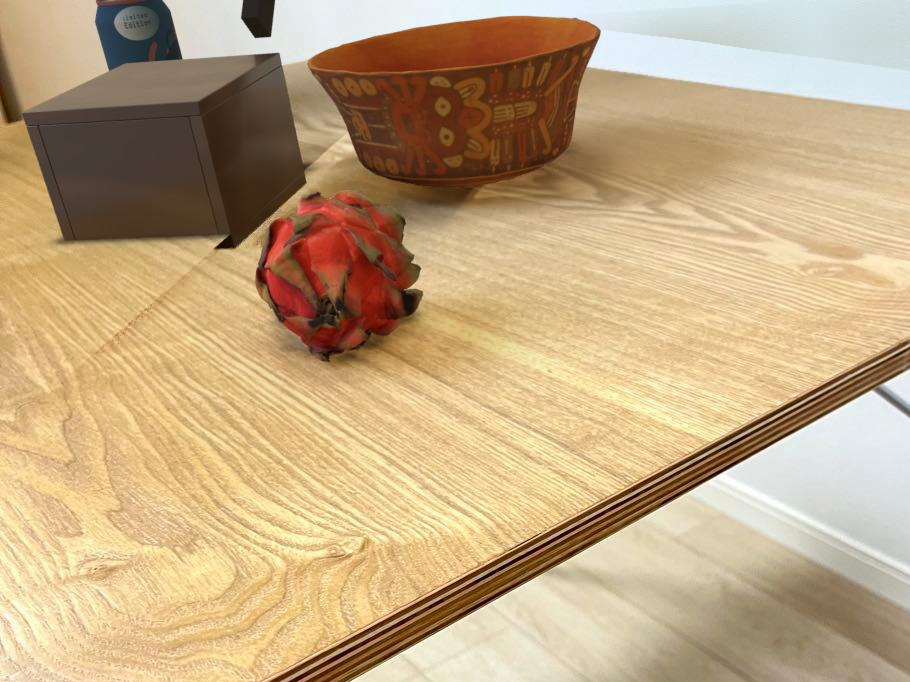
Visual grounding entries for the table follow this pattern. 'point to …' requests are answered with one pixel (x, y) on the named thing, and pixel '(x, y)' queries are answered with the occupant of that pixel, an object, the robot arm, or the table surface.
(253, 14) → the robot arm
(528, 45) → the bowl
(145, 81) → the cabinet
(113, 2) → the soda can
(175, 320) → the table surface
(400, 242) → the dragon fruit
